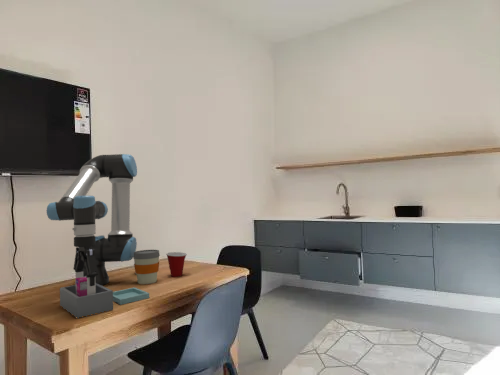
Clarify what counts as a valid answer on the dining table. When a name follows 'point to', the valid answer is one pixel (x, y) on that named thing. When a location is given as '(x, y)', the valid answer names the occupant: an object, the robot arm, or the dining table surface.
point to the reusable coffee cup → (146, 266)
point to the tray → (129, 295)
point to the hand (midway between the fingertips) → (85, 291)
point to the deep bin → (86, 301)
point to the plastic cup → (176, 263)
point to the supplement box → (81, 286)
